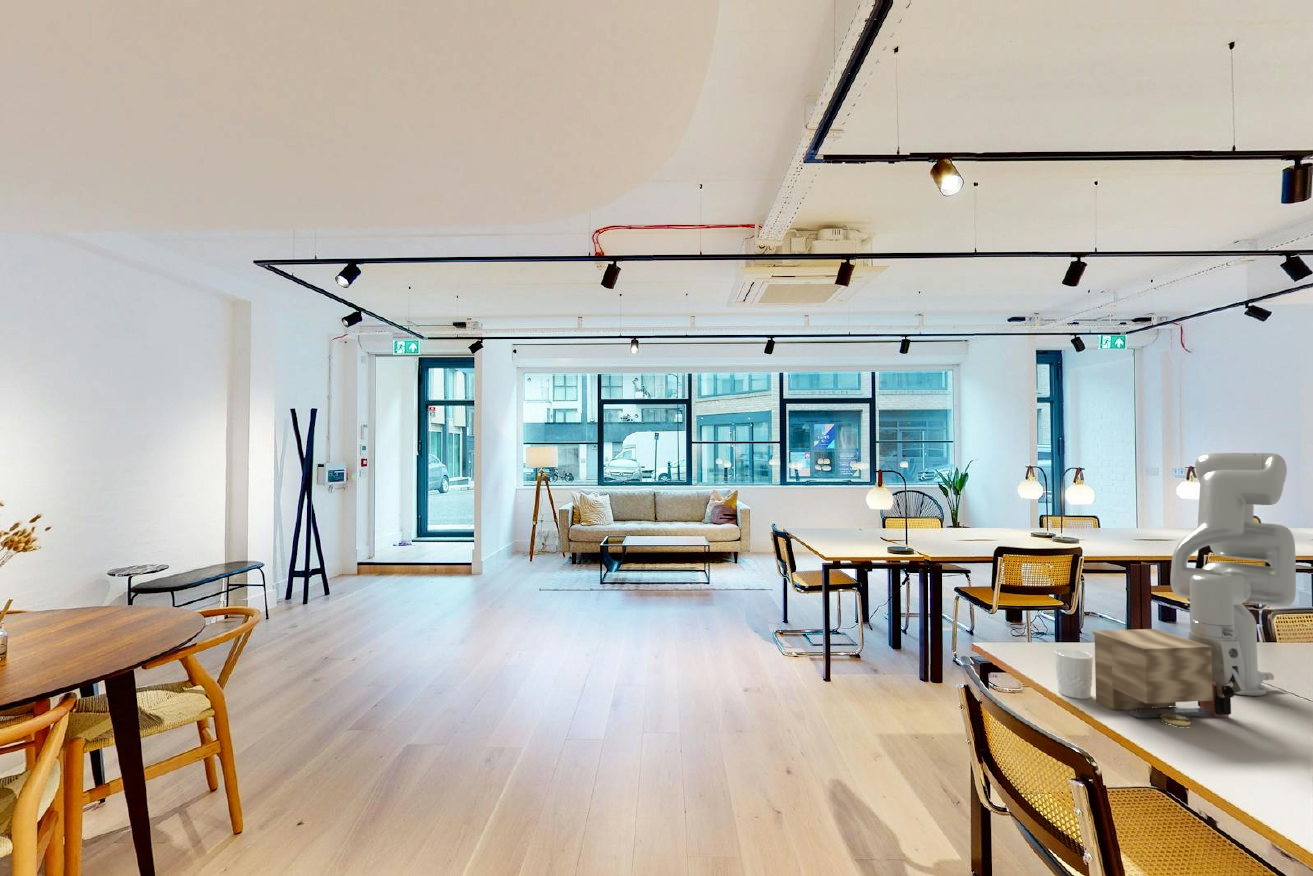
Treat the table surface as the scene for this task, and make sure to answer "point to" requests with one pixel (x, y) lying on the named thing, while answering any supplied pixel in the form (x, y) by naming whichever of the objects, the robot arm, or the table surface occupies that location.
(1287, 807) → the table surface
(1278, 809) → the table surface
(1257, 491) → the robot arm
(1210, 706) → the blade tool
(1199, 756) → the table surface
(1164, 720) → the brass token
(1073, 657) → the white cup
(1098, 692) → the oak bench cabinet
